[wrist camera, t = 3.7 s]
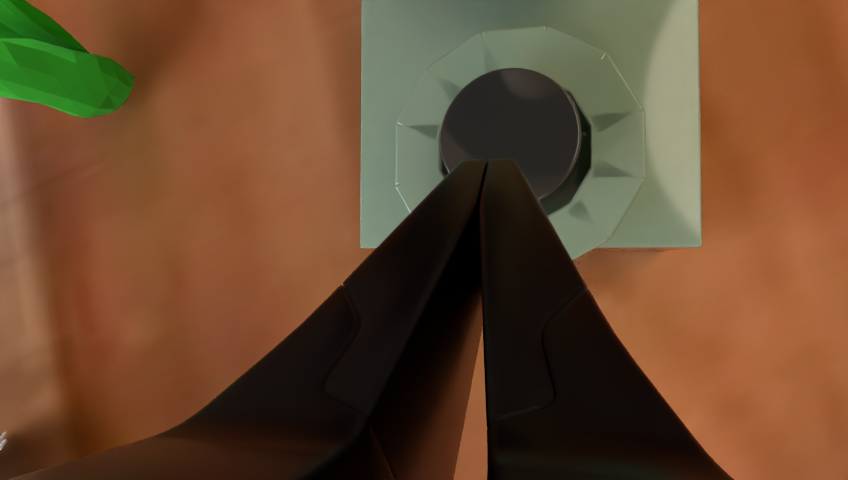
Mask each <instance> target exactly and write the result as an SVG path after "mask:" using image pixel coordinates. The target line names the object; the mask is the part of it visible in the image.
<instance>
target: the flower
mask: <svg viewBox="0 0 848 480" xmlns="http://www.w3.org/2000/svg"><path fill="white" fill-rule="evenodd" d="M134 79H135V77H134V76H133V75H132V74H130V73H129V72H128V71H127V70H126V69H125V68H123V67H122V66H121V65H119V64H118V63H116V62H115V61H113V60H112V59H110V58H107V57H103V56H98V55H94V54H90V53H89V52H88V51H87V50H86V49H85V48H84V47H83V46H82V45H81V44H80V43H79V42H77V41H76V40H75V39H74V38H73V37H72V36H71V35H70V34H69V33H68V32H67V31H66V30H64V29H63V28H62V27H61V26H60V25H59V24H57V23H56V22H55V21H54V20H53V19H52V18H50V17H49V16H47V15H46V14H44V13H43V12H41V11H40V10H38V9H37V8H35V7H34V6H32V5H31V4H29V3H28V2H26V1H24V0H0V97H6V98H12V99H18V100H24V101H30V102H36V103H41V104H44V105H47V106H49V107H52V108H55V109H57V110H60V111H63V112H65V113H68V114H71V115H74V116H78V117H83V118H89V117H94V116H100V115H105V114H108V113H111V112H113V111H115V110H117V109H118V108H119V107H120V106H121V105H122V104H123V103H124V102H125V101H126V99H127V97H128V96H129V94H130V92H131V90H132V88H133V84H134Z"/></svg>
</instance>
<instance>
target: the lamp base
mask: <svg viewBox="0 0 848 480" xmlns="http://www.w3.org/2000/svg"><path fill="white" fill-rule="evenodd" d="M503 68H525V69H530V70H534V71H537V72H539V73H542V74H544V75H546V76H548V77H549V78H551V79H553V80H554V81H555V82H557V83H558V84H559V85H560V86H561V87H562V88H563V89H564V90H565V91H566V92H567V94H568V95H569V96H570V98H571V99H572V101H573V103H574V105H575V107H576V109H577V112H578V115H579V119H580V123H581V146H580V151H579V157H578V162H577V167H576V170H575V172H574V175H573V177H572V179H571V181H570V182H569V184H568V185H567V187H566V188H565V189H564V191H563V192H562V193H561V194H560V195H559V196H558V197H557V198H555V199H554V200H553V201H552V202H550V203H549V204H547V205H545V206H543V209H544V211H545V212H546V214H547V216H548V218H549V219H550V221H551V223H552V225H553V227H554V228H555V230H556V232H557V234H558V236H559V237H560V239H561V241H562V243H563V245H564V246H565V248H566V250H567V252H568V253H569V255H570V257H571V259H572V261H573V260H575V259H577V258H578V257H580V256H582V255H584V254H586V253H587V252H589V251H666V250H677V249H688V248H700V247H702V190H701V118H700V46H699V0H362V37H361V201H360V247H361V248H366V249H376V248H377V247H378V246H379V245H380V244H381V243H382V242H383V241H384V240H385V239H386V238H387V237H388V236H389V234H390V233H391V232H392V231H393V230H394V229H395V228H396V227H397V226H398V225H399V224H400V223H401V222H402V221H403V220H404V219H405V218H406V217H407V216H408V215H409V214H410V213H411V212H412V211H413V210H414V209H415V208H416V207H417V206H418V204H419V203H420V202H421V201H422V200H423V199H424V198H425V197H426V196H427V195H428V194H429V193H430V192H431V191H432V190H433V189H434V188H435V187H436V186H437V185H438V184H439V183H440V182H441V181H442V180H443V179H444V178H445V177H446V175H447V174H448V171H447V169H446V167H445V165H444V162H443V159H442V154H441V149H440V132H441V127H442V122H443V119H444V116H445V113H446V111H447V109H448V107H449V105H450V104H451V102H452V101H453V99H454V98H455V96H456V95H457V94H458V93H459V92H460V91H461V90H462V89H463V88H464V87H465V86H466V85H467V84H468V83H470V82H471V81H472V80H474V79H476V78H477V77H479V76H481V75H483V74H485V73H488V72H490V71H494V70H498V69H503Z"/></svg>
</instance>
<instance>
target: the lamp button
mask: <svg viewBox="0 0 848 480" xmlns="http://www.w3.org/2000/svg"><path fill="white" fill-rule="evenodd" d="M580 146H581V123H580V119H579V115H578V112H577V109H576V107H575V105H574V103H573V101H572V99H571V98H570V96H569V95H568V94H567V92H566V91H565V90H564V89H563V88H562V87H561V86H560V85H559V84H558V83H557V82H555V81H554V80H553V79H551V78H549V77H548V76H546V75H544V74H542V73H539V72H537V71H534V70H530V69H525V68H503V69H498V70H494V71H490V72H488V73H485V74H483V75H481V76H479V77H477V78H476V79H474V80H472V81H471V82H470V83H468V84H467V85H466V86H465V87H464V88H463V89H462V90H461V91H460V92H459V93H458V94H457V95H456V96H455V98H454V99H453V101H452V102H451V104H450V105H449V107H448V109H447V111H446V113H445V116H444V119H443V122H442V127H441V132H440V149H441V154H442V159H443V162H444V165H445V167H446V169H447V171H448V173H449V172H450V171H451V170H452V169H453V168H454V167H455V166H456V165H457V164H458V163H459V162H460V161H462V160H464V159H486V160H487V161H489V160H490V159H492V158H514V159H516V161H517V162H518V164H519V166H520V168H521V169H522V171H523V173H524V175H525V177H526V178H527V180H528V182H529V184H530V186H531V187H532V189H533V191H534V193H535V194H536V196H537V198H538V200H539V202H540V203H541V205H542V207H543V206H545V205H547V204H549V203H550V202H552V201H553V200H554V199H555V198H557V197H558V196H559V195H560V194H561V193H562V192H563V191H564V189H565V188H566V187H567V185H568V184H569V182H570V181H571V179H572V177H573V175H574V172H575V170H576V167H577V162H578V157H579V151H580Z"/></svg>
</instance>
